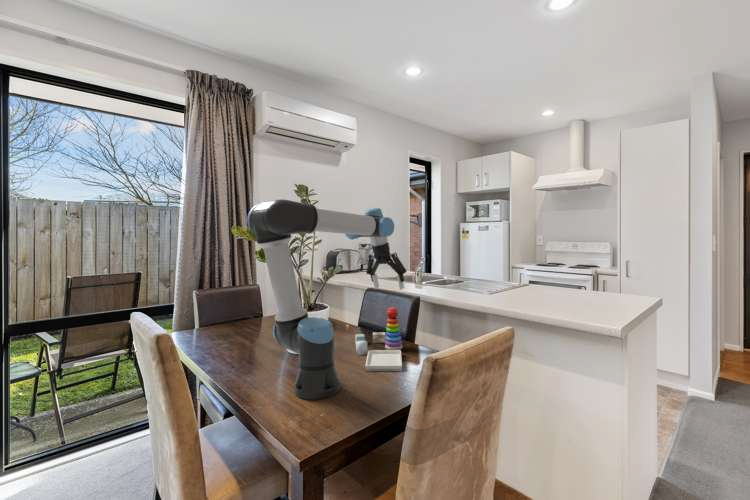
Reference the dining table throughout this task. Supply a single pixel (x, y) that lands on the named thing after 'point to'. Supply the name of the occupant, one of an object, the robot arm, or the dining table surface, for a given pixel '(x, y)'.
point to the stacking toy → (393, 331)
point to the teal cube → (359, 337)
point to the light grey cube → (361, 347)
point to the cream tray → (383, 360)
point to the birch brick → (378, 337)
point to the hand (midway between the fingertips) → (389, 288)
